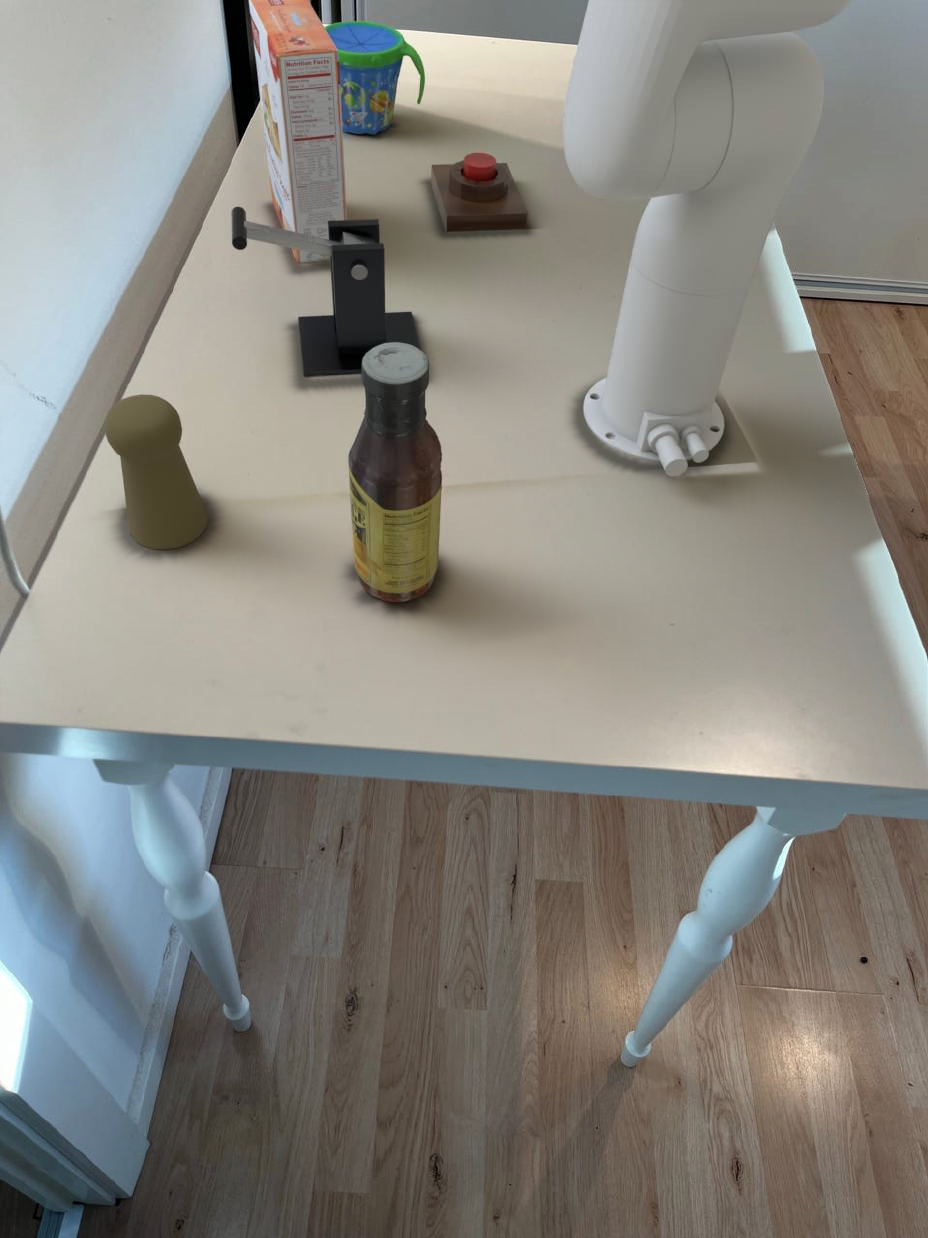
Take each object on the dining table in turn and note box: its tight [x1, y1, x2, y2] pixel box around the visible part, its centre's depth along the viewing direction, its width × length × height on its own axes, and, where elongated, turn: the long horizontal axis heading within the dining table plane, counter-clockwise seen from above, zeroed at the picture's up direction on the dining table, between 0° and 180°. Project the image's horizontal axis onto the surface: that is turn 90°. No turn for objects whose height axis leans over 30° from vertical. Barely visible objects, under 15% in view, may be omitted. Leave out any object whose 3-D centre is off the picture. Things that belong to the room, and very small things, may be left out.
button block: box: [430, 159, 529, 233], centre depth 107 cm, size 12×9×4 cm
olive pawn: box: [104, 393, 209, 550], centre depth 70 cm, size 6×6×11 cm
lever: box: [230, 206, 375, 257], centre depth 80 cm, size 12×5×2 cm, turn 99°
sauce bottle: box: [347, 342, 443, 603], centre depth 64 cm, size 6×6×20 cm
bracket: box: [297, 218, 422, 378], centre depth 85 cm, size 11×9×12 cm
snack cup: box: [324, 20, 426, 136], centre depth 117 cm, size 16×10×10 cm
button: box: [463, 152, 497, 181], centre depth 105 cm, size 4×4×2 cm
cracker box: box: [248, 0, 348, 264], centre depth 94 cm, size 14×6×21 cm, turn 18°
